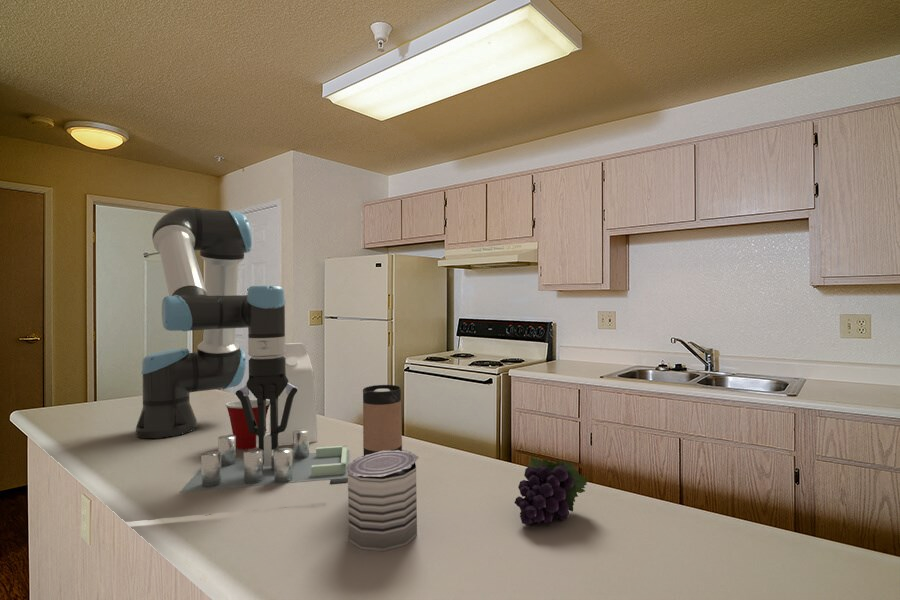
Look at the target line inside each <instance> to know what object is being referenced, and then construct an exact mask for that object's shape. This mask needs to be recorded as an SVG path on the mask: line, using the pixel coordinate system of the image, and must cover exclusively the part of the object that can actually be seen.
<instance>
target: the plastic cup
mask: <svg viewBox="0 0 900 600" xmlns="http://www.w3.org/2000/svg"><path fill="white" fill-rule="evenodd" d="M250 403H251V406H252V410H253V413H254V417H255V421H256V424H257V427H258V405H257V399H250ZM224 405H225V407H226V409H227V412H228V417H229V421H230V422H229V423H230V427H231V433H232V435H235V436H236V450H244V451H246V450H249V449H256V434H251V433H250V432H249V429H248V426H247V422H246V418H245V415H244V411H243V408H242V404H241V401H240V400H235V401H229V402H225V404H224ZM269 409H270V400H266V416H267V415H268V411H269Z"/></svg>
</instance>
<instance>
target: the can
mask: <svg viewBox="0 0 900 600" xmlns="http://www.w3.org/2000/svg"><path fill="white" fill-rule="evenodd" d="M419 458H420V456H418V455H417V454H415V453H414V452H411V451H409V450H407V449H402V450H395V451H379V452H376V453H372V454H369V455H365V456H364V455H362V456H358V457H356V458H354V460H352V461H351V462H349V465H348V466H347V467H346V468H345V469H346V470H347V471H348V482H347V494H348V495H347V497H348V499H347V501H348V502H347V503H348V509H347V510H348V542H350V543H351V544H352V545H354V546H356V547H357V548H358V549H360V550H361V551H373V552H386V551H390V550H394V549H398V548H402V547H405V546H407V545H408V544H409V543H410V542H411V541H413V540H414V539H415V538H416V537H417V536H418V515H417V514H418V511H417V510H418V507H417V497H418V496H417V495H418V494H417V465H416V462H417V460H419Z"/></svg>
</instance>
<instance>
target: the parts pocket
mask: <svg viewBox="0 0 900 600" xmlns="http://www.w3.org/2000/svg"><path fill="white" fill-rule="evenodd" d="M347 450H348V446H347V445H335V446H333V445H332V446H321V447H319V446H318V447H316V448H315V453H316V457H329V456H342V457H341V463H335V464H322V465H312V466H311V477H312V476H324V475H336V474H346V469H345V468H346V461H347Z"/></svg>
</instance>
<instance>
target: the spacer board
mask: <svg viewBox="0 0 900 600" xmlns="http://www.w3.org/2000/svg"><path fill="white" fill-rule="evenodd" d="M341 457H342V456H329V457H316V452H309V457H307V458H304V459H295V466H294V469H293V479H292V480H291V481H289V482H286V483H276V482H274V471H272V469H271V466H268V467H264V463H263V480H262V481H261V482H258V483H254V484H246V483H244V457H242V458H241V457H240V458H238V457H237V458H236V463H235V464H233V465H230V466H221V475H222V483H221V484H220V485H217V486H214V487H202V473H201V468H200V469H199V470H198V471H197V472H196V473H195V474H194V475H193V477H191V479H190V480H189V481H187V483H186V484H185V486H183V487H182V489H180V490H179V493H190V492H197V491H198V492H201V491H210V490H224V489H233V488H234V489H236V488H237V489H238V488H247V487H248V488H249V487H256V486H257V487H259V486H272V485H280V484H281V485H282V484H283V485H284V484H294V483H306V482H317V481H329V484H336V483H337V484H339V483H348V471H347V470H346V474H336V475H324V476H312V477H311V466H312V465H322V464H335V463H341ZM349 464H350V450H348V449H347V461H346V467H347V466H348V465H349Z"/></svg>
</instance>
